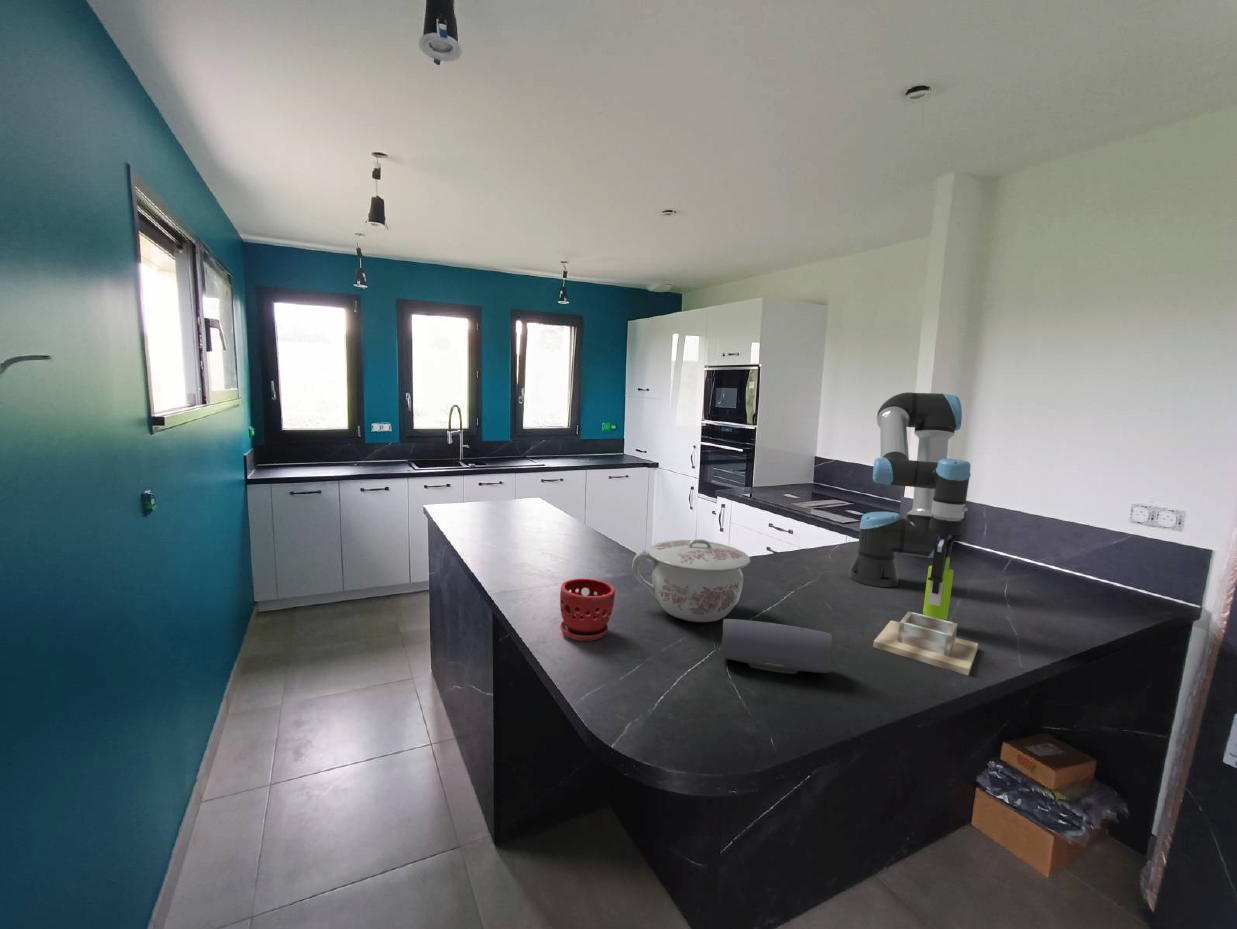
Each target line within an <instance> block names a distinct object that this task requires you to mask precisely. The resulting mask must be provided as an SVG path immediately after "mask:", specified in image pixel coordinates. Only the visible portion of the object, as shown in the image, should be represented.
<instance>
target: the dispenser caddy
mask: <svg viewBox="0 0 1237 929" xmlns="http://www.w3.org/2000/svg"><path fill="white" fill-rule="evenodd" d="M958 625H959V624H958V622H953V621H950V620H949V621H948V620H946V619H945V620H941V619H937V618H933V617H929V616H925V615H924V614H923V613H922V614H921V613H917V612H913V611H907V612H906V614H905V615H904V616H903V617H902V619H901V620H900V621H895V620H890V621H889V622H888V623H887V624H886V625H885V627H884V628H883V629H882V631H880V633H879V634H877V637H875V639H874V640H873V644H872V647H873V648H874V649H875V648H876V649H878V650H882V651H885V652H889V653H891V654H895V655H898V656H902V657H905V658H908V659H912V660H915V661H919V662H922V663H926V664H928V665H930V666H931V665H932V666H935V667H938V668H942V669H945V670H948V671H951V672H956V673H958V674H962V675H965V676H969V675H970V672H971V669H972V667H973V663H974V661H975V657H976V655H977V652H978V648H979V643H977V642H974V641H971V640H967V639H962V638H958V637H957V632H958V631H957V630H958Z"/></svg>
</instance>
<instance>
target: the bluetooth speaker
mask: <svg viewBox="0 0 1237 929" xmlns="http://www.w3.org/2000/svg"><path fill="white" fill-rule="evenodd" d="M722 621H723V622H722V637H721V646H720V657H721V658H724V659H728V660H731V661H735V662H741V663H745V664H748V667H750V668H752V669H757V670H761V671H766V672H767V671H768V672H775V673H780V674H787V675H788V674H790V675H794V674H795V675H797V673H798V672H807V673H808V672H810V673H821V674H822V673H823V674H828V673H829V674H830V672H831V669H832V664H833V661H832V660H833V659H832V652H833V650H832V647H833V645H832V644H833V638H832V634H831V633H829V632H825V631H823V630H822V631H821V630H816V629H812V628H806V627H800V626H796V625H795V626H793V625H788V624H781V623H773V622H767V621H758V620H748V619H747V620H746V619H738V618H737V619H735V618H723V620H722Z"/></svg>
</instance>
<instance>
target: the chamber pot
mask: <svg viewBox="0 0 1237 929" xmlns="http://www.w3.org/2000/svg"><path fill="white" fill-rule="evenodd" d="M642 559H646V560H648V561H650V563H651V564H650V570H651V581H652V583H650V582H649V581H647V580H646V579H644V577H643V576H642V575H641V573H640V572H639V567H638V566H639V563H640V560H642ZM750 564H751V557H750V556H749V555H748V554H746V552H745V551H742V550H740V549H738V548H735V547H732V546H729V545H726V544H722V543H718V542H714V541H708V540H706V539H703V538H702V539H701V538H700V539H676V540H669V541H667V540H666V541H661V542H658V543H655V544H653V545H651V546H650V547H649V549H648V550H647V551H646V550H640V551H638V552H637V553H636V554H635V556H634V558H633V559H632V565H631V570H632V574H633V576H634V577H635V578H636V580H637V582H638V583H639V584H641V585H642V586H644V587H645V588H646V589H648V590H649V592H650V593H651V594H652V596H654V598H655V600H656V601H658V602H659V604H660V605H661V607H662V609H663V610H664V611H665V612H666V613H667V614H668V615H669V616H672V617H674V618H677V619H679V620H682V621H687V622H691V623H709V622H717V621H719V620H722V619H723V620H724V619H725V618H726V617H727V616H728V615H729V614H730V612H731V611H732V610H733V609H734V608H735V606H736V605H737V603H738V602H739V600H740V597H741V594H742V591H743V587H744V586H743V585H744V584H743V583H744V573H743V570H742V569H743V568H745V567H747V566H748V565H750Z"/></svg>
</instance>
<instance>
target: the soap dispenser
mask: <svg viewBox="0 0 1237 929" xmlns="http://www.w3.org/2000/svg"><path fill="white" fill-rule="evenodd" d="M945 554H946V553H945ZM949 562H951V556H950V557H947V558H946V562H945V568H944V574H943V587H942V594H941V602H940V606H937V605H932V604H928V600H929V592H930V585H931V580H928V578H930V577H931V570H932V565H929V566H928V570H927V577H926V584H925V586H926V587H925V591H924V602H923V606H922V608H923V609H922V615H925V616H929V617H933V618H937V619H941V620H945V621H946V620H947V619H948V616H949V609H950V603H951V594H952V588H953V579H954V572H955V571H954V570H953V569H951V568H950V563H949Z"/></svg>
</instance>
